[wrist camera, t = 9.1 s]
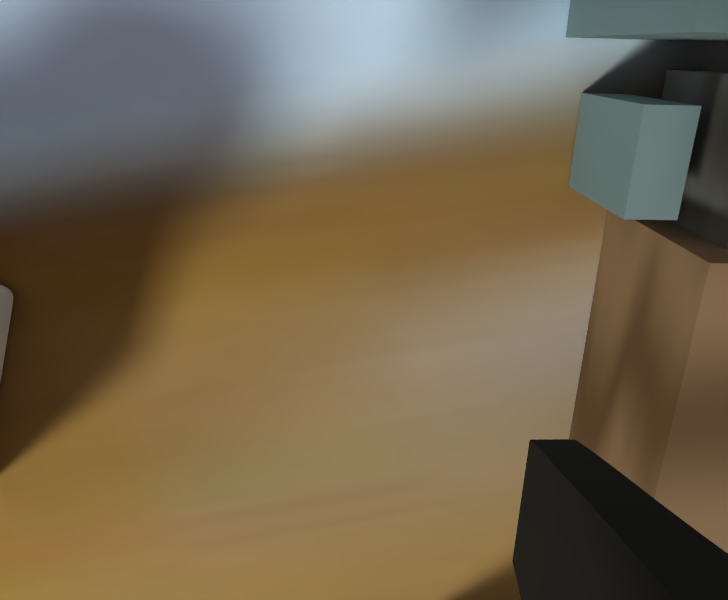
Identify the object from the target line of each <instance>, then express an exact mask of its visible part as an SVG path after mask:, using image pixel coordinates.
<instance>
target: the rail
mask: <svg viewBox="0 0 728 600" xmlns="http://www.w3.org/2000/svg"><path fill="white" fill-rule="evenodd" d="M661 99H662V100H668V101H674V102H680V103H687V104H693V105H699V106H701V111H700V116H699V120H698V125H697V130H696V134H695V139H694V144H693V149H692V153H691V158H690V163H689V168H688V172H687V177H686V182H685V187H684V191H683V196H682V201H681V205H680V210H679V215H678V220H624V219H622V218H620V217H619V216H617V215H615V214H614V213H612V212H610V211H609V210H608V214H607V220H606V225H605V231H604V237H603V243H602V249H601V255H600V261H599V267H598V272H597V278H596V284H595V290H594V296H593V302H592V308H591V314H590V320H589V325H588V331H587V337H586V343H585V349H584V355H583V361H582V367H581V373H580V378H579V384H578V390H577V396H576V402H575V408H574V414H573V420H572V425H571V431H570V437H569V440H570V439H575V440H577V441H578V442H580V443H581V444H583V445H584V446H586V447H587V448H588V449H590V450H591V451H593V452H594V453H595V454H597V455H598V456H599V457H601V458H602V459H603V460H605V461H606V462H607V463H609V464H610V465H611V466H613V467H614V468H615V469H617V470H618V471H619V472H620V473H622V474H623V475H624V476H626V477H627V478H628V479H630V480H631V481H632V482H633V483H635V484H636V485H637V486H639V487H640V488H641V489H643V490H644V491H645V492H646V493H648V494H649V495H650V496H652V497H653V498H654V499H655V500H657V501H658V502H659V503H661V504H662V505H663V506H665V507H666V508H667V509H669V510H670V511H671V512H673V513H674V514H675V515H676V516H678V517H679V518H680V519H682V520H683V521H684V522H686V523H687V524H688V525H690V526H691V527H692V528H694V529H695V530H696V531H698V532H699V533H700V534H702V535H703V536H705V537H706V538H707V539H709V540H710V541H711V542H713V543H714V544H715V545H717V546H718V547H720V548H721V549H722V550H724V551H725V552H726V553H728V72H722V71H698V70H667V71H666V77H665V82H664V87H663V93H662V98H661Z"/></svg>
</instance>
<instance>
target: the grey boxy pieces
mask: <svg viewBox="0 0 728 600" xmlns="http://www.w3.org/2000/svg"><path fill="white" fill-rule="evenodd" d="M566 37H579V38H613V39H647V40H682V41H716V42H728V0H571V3H570V10H569V18H568V26H567V33H566ZM700 111H701V106H699V105H693V104H687V103H680V102H674V101H668V100H662V99H655V98H649V97H643V96H637V95H630V94H603V93H582V95H581V102H580V109H579V116H578V123H577V130H576V137H575V144H574V151H573V158H572V165H571V172H570V179H569V186H568V187H570V188H571V189H573V190H575V191H576V192H578V193H580V194H581V195H583V196H585V197H587V198H588V199H590V200H592V201H593V202H595V203H597V204H598V205H600V206H602V207H603V208H605V209H607V210H609V211H610V212H612V213H614V214H615V215H617V216H619V217H620V218H622V219H624V220H678V215H679V210H680V205H681V201H682V196H683V191H684V187H685V182H686V177H687V172H688V168H689V163H690V158H691V153H692V149H693V144H694V139H695V134H696V130H697V125H698V120H699V116H700Z"/></svg>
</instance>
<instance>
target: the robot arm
mask: <svg viewBox="0 0 728 600" xmlns="http://www.w3.org/2000/svg"><path fill="white" fill-rule="evenodd" d="M513 565H514V569H515V574H516V578H517V582H518V587H519V591H520V595H521V599H522V600H728V553H726V552H725V551H724V550H722V549H721V548H720V547H718V546H717V545H715V544H714V543H713V542H711V541H710V540H709V539H707V538H706V537H705V536H703V535H702V534H700V533H699V532H698V531H696V530H695V529H694V528H692V527H691V526H690V525H688V524H687V523H686V522H684V521H683V520H682V519H680V518H679V517H678V516H676V515H675V514H674V513H673V512H671V511H670V510H669V509H667V508H666V507H665V506H663V505H662V504H661V503H659V502H658V501H657V500H655V499H654V498H653V497H652V496H650V495H649V494H648V493H646V492H645V491H644V490H643V489H641V488H640V487H639V486H637V485H636V484H635V483H633V482H632V481H631V480H630V479H628V478H627V477H626V476H624V475H623V474H622V473H620V472H619V471H618V470H617V469H615V468H614V467H613V466H611V465H610V464H609V463H607V462H606V461H605V460H603V459H602V458H601V457H599V456H598V455H597V454H595V453H594V452H593V451H591V450H590V449H588V448H587V447H586V446H584V445H583V444H581V443H580V442H578V441H577V440H575V439H570V440H530V442H529V449H528V456H527V463H526V470H525V477H524V484H523V491H522V498H521V505H520V512H519V519H518V526H517V534H516V541H515V548H514V555H513Z"/></svg>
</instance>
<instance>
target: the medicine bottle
mask: <svg viewBox="0 0 728 600" xmlns="http://www.w3.org/2000/svg"><path fill="white" fill-rule="evenodd" d="M13 300H14V299H13V293H12V292H11V291H10V289H9V288H7V287H5V286H3V285H0V382H1V376H2V370H3V363H4V357H5V351H6V344H7V338H8V331H9V325H10V319H11V312H12V306H13Z"/></svg>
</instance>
